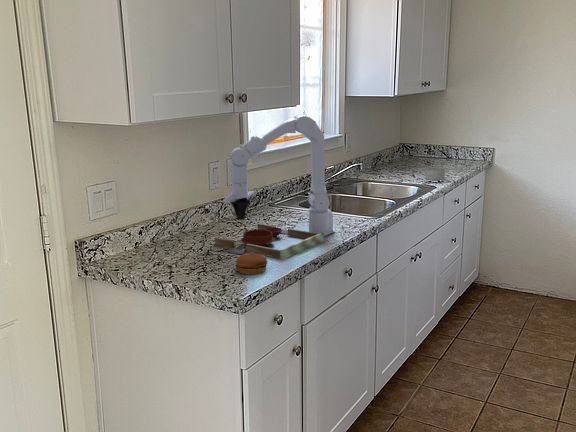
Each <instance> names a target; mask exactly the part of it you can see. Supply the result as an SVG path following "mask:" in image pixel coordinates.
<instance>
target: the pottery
mask: <svg viewBox="0 0 576 432" xmlns="http://www.w3.org/2000/svg"><path fill="white" fill-rule="evenodd" d="M282 230H283V229H282V228H281V227H276V228H266V229H265V230H258V229H250V230H246V231H244V232H242V233H243V234H242V238H241V239H240V242H241V243H243V244H245V245H246V244H252V245H257V246H263V247H267V245H268V244H271V243H274V242H276V240H275V239H278V236H279V235H280V233H281V231H282Z"/></svg>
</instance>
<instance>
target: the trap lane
mask: <svg viewBox="0 0 576 432" xmlns="http://www.w3.org/2000/svg"><path fill="white" fill-rule="evenodd" d="M266 228H277V226H276V225H270V224H264V223H257V230H265V229H266ZM287 231H288V235H287V236H288V237H293V238H299V239H303V240H300V241H297V242H296V243H292V244H290V245H287V246H286V247H283V248H280V249H279V248H272V247H267V246H265V247H263V246H257V245H252V244H245V247H246V248H245V251H246V252H245V253H255V254H262V255H264V256H265V257H270V258H271V257H272V258H276V259H281V260H284V259H286V258H288V257H291V256H293V255H296V254H298V253H300V252H303V251H305V250H307V249H309V248H311V247H314V246H316V245H318V244H320V243H323V242H325V236H324V233H313V232H307V231H308V230H307V231H306V230H300V229H296V228H295V229H294V228H287ZM214 246H217V247H218V246H219V247H222V248H227V249H231V248H235V240H232V239H226V238H221V237H215V238H214Z"/></svg>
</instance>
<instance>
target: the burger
mask: <svg viewBox="0 0 576 432" xmlns="http://www.w3.org/2000/svg"><path fill="white" fill-rule="evenodd" d="M235 261H236V262H235V266H234V268H235V270H236V271H237V272H238V273H240V274H242V275H259V274H262V273H263V272H264V271H265V270H266V268H267V265H268V259H267V256H265V255H262V254H256V253H251V252H246V253H241V254H239V256H238V257H237V258H236V260H235Z"/></svg>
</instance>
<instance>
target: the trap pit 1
mask: <svg viewBox="0 0 576 432" xmlns="http://www.w3.org/2000/svg"><path fill="white" fill-rule="evenodd" d="M224 252H225V253H229V254H235V255H239V256H240V255H242V254H245V253H247V252H246V249H241V248H236V247H234V248H227V249H226V250H224Z"/></svg>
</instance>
